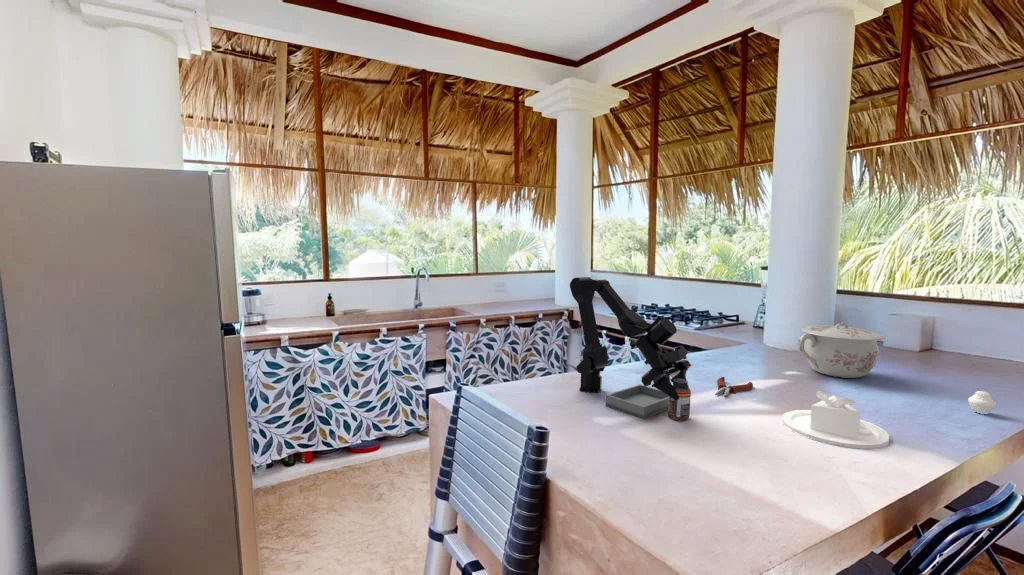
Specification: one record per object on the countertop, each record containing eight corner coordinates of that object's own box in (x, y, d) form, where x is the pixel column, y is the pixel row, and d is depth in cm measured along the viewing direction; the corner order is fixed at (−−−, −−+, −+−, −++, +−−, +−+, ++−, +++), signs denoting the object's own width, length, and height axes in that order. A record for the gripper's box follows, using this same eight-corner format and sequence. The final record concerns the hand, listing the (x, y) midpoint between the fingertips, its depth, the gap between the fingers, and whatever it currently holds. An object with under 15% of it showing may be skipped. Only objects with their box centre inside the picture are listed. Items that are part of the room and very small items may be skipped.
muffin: (967, 408, 152) (969, 386, 151) (994, 413, 147) (997, 391, 147) (966, 412, 147) (969, 390, 147) (994, 418, 143) (997, 395, 142)
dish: (896, 458, 116) (900, 413, 115) (779, 435, 129) (781, 394, 128) (883, 425, 137) (886, 387, 136) (783, 408, 150) (785, 373, 149)
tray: (605, 405, 150) (605, 394, 150) (639, 394, 161) (639, 384, 161) (643, 418, 139) (643, 407, 139) (676, 405, 151) (677, 394, 150)
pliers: (701, 395, 163) (702, 387, 163) (720, 382, 178) (720, 375, 178) (737, 402, 156) (738, 395, 156) (753, 388, 171) (754, 381, 171)
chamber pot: (877, 371, 194) (882, 320, 192) (885, 388, 171) (890, 331, 169) (797, 361, 209) (800, 314, 207) (795, 376, 186) (798, 323, 184)
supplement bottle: (664, 414, 143) (666, 377, 142) (683, 413, 144) (685, 377, 143) (673, 421, 137) (674, 383, 136) (693, 421, 138) (695, 383, 137)
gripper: (651, 341, 135) (685, 389, 128) (686, 333, 147) (719, 377, 140) (627, 363, 142) (658, 409, 135) (663, 354, 154) (693, 396, 147)
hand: (683, 397), depth 139 cm, fingers closed on supplement bottle, 6 cm apart
